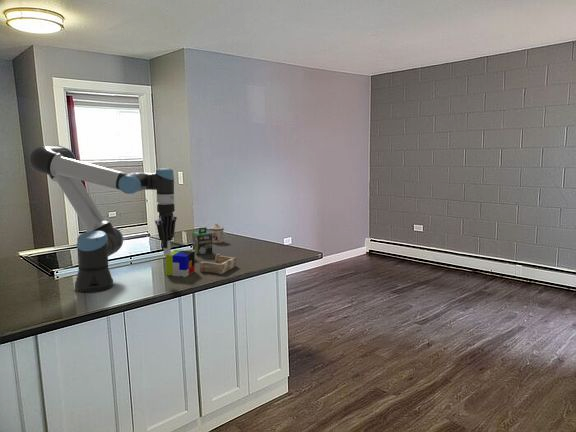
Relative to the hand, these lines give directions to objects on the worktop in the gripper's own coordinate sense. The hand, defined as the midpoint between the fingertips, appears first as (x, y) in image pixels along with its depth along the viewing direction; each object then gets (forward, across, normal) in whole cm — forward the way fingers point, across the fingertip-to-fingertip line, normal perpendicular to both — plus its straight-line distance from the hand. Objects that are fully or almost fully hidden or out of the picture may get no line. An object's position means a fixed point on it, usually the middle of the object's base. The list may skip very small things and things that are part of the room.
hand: (167, 254), depth 196 cm
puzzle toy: (+12, +11, 0) cm, 16 cm away
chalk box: (+12, +50, +12) cm, 53 cm away
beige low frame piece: (+12, +26, -4) cm, 29 cm away
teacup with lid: (+12, +77, +18) cm, 80 cm away
